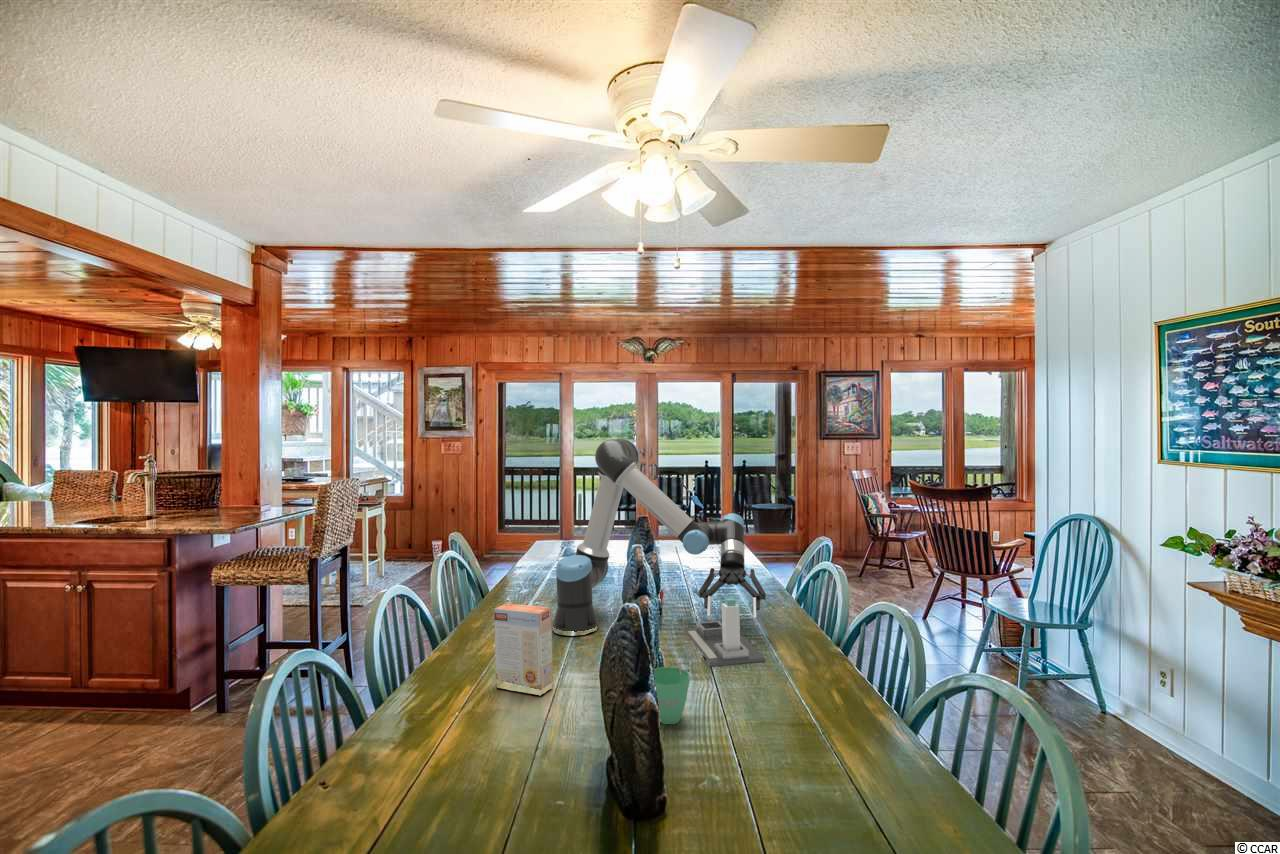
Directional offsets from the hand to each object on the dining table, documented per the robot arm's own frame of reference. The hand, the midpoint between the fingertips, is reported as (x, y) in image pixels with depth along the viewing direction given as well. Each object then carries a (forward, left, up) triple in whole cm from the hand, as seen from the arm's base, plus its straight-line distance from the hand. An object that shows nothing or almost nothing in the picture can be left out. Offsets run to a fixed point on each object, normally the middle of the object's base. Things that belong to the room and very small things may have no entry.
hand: (731, 618), depth 182 cm
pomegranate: (-14, +53, -9) cm, 56 cm away
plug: (-2, -7, -8) cm, 11 cm away
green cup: (-30, -39, -9) cm, 50 cm away
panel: (-2, +3, -9) cm, 10 cm away
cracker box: (-61, -15, -9) cm, 63 cm away
